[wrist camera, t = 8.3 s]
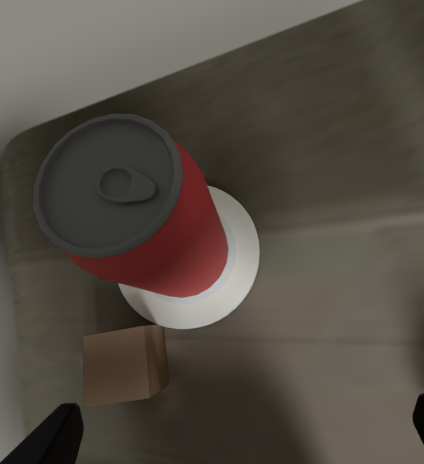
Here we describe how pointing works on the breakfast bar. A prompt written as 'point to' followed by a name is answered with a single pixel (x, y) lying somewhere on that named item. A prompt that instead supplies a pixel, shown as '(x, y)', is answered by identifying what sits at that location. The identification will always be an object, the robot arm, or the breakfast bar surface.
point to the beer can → (131, 207)
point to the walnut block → (124, 365)
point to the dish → (223, 290)
